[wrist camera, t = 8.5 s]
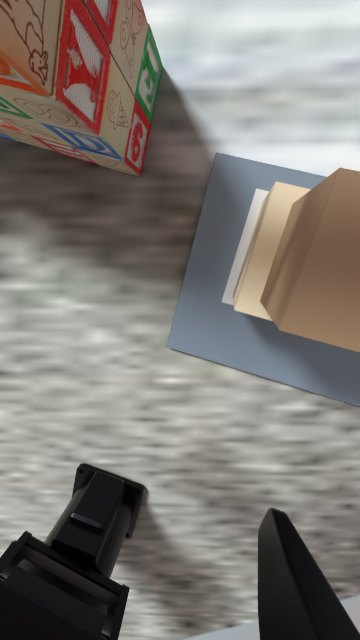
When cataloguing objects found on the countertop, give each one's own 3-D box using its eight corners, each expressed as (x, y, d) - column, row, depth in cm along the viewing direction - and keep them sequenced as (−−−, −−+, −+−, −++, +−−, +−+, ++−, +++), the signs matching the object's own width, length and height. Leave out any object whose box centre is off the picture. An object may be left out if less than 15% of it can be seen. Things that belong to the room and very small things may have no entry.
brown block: (354, 326, 12) (437, 373, 7) (259, 301, 13) (279, 330, 8) (399, 227, 11) (536, 206, 6) (292, 203, 11) (339, 167, 6)
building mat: (371, 407, 18) (374, 411, 17) (167, 345, 19) (166, 347, 19) (479, 213, 14) (487, 212, 14) (216, 154, 16) (216, 152, 15)
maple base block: (322, 321, 17) (356, 345, 12) (232, 296, 17) (234, 310, 13) (364, 225, 15) (420, 213, 11) (262, 201, 15) (276, 181, 11)
